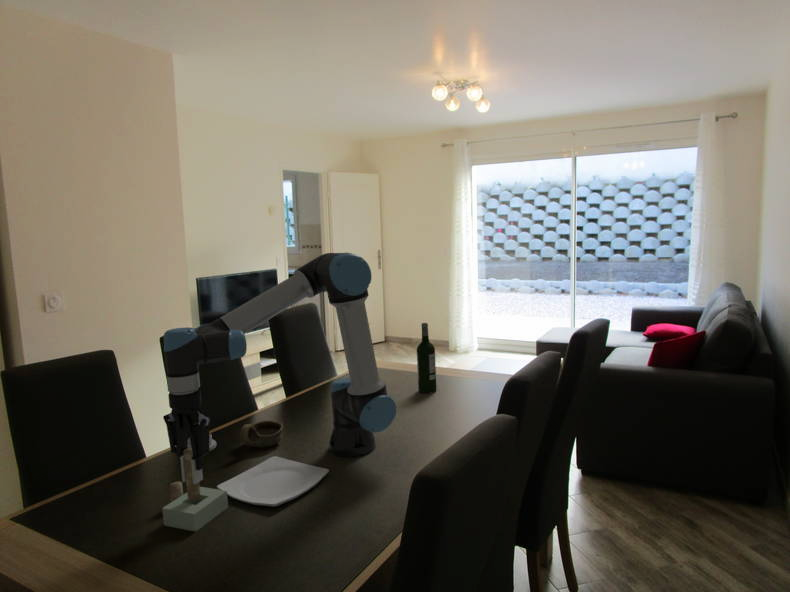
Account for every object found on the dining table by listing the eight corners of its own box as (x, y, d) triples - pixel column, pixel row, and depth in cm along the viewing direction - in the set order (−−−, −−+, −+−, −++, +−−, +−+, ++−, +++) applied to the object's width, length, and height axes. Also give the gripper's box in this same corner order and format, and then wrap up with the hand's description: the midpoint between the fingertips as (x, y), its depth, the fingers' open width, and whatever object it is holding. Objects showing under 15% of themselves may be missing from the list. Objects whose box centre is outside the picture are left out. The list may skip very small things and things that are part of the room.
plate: (275, 517, 134) (274, 507, 134) (210, 496, 147) (210, 487, 147) (335, 477, 155) (335, 468, 155) (274, 462, 168) (273, 453, 168)
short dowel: (186, 503, 143) (184, 482, 142) (178, 509, 140) (176, 487, 140) (177, 501, 144) (175, 480, 144) (169, 507, 142) (167, 485, 141)
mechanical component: (179, 454, 178) (206, 455, 176) (178, 441, 177) (205, 442, 175) (196, 442, 187) (222, 443, 185) (194, 430, 187) (220, 431, 185)
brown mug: (293, 439, 185) (290, 411, 184) (260, 459, 169) (257, 429, 168) (261, 435, 191) (259, 408, 190) (227, 454, 175) (224, 425, 174)
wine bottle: (437, 393, 229) (434, 324, 226) (418, 393, 229) (415, 325, 226) (436, 387, 237) (433, 321, 234) (418, 388, 237) (415, 322, 234)
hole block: (228, 507, 140) (226, 490, 139) (195, 531, 129) (194, 514, 128) (198, 501, 144) (196, 486, 143) (164, 525, 133) (162, 508, 132)
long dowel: (203, 497, 136) (198, 448, 135) (194, 502, 134) (190, 452, 132) (193, 495, 138) (189, 447, 136) (185, 500, 135) (180, 451, 133)
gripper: (220, 388, 133) (227, 478, 136) (171, 384, 139) (179, 470, 141) (199, 397, 126) (207, 491, 129) (148, 392, 132) (157, 483, 134)
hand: (192, 480), depth 135 cm, fingers closed on long dowel, 3 cm apart
